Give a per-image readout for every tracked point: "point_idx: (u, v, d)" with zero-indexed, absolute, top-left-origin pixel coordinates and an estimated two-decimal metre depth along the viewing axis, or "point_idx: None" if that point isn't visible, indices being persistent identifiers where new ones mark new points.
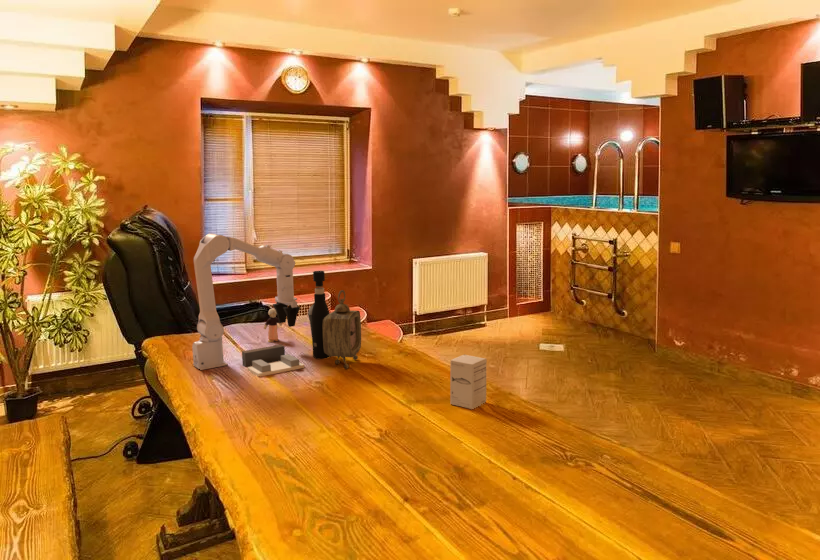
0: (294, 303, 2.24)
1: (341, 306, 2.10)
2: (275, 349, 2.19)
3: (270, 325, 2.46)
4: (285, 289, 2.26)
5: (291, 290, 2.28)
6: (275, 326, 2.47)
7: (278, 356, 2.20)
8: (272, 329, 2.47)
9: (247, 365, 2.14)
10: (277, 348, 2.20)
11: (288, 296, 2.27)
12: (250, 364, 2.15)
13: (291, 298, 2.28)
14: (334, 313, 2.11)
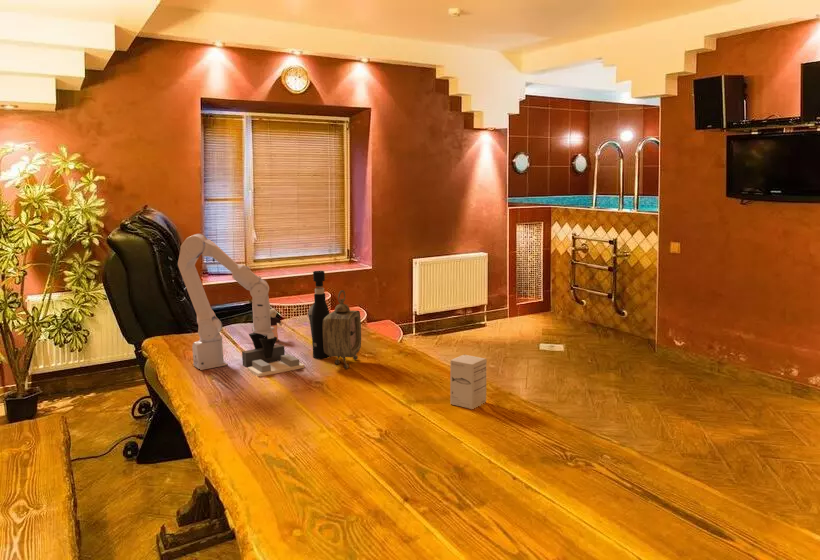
0: (270, 334, 2.12)
1: (341, 306, 2.10)
2: (275, 349, 2.20)
3: None
4: (261, 319, 2.14)
5: (268, 320, 2.15)
6: (275, 326, 2.47)
7: (278, 356, 2.21)
8: None
9: (248, 365, 2.14)
10: (277, 348, 2.20)
11: (264, 326, 2.15)
12: (250, 364, 2.15)
13: (268, 328, 2.16)
14: (334, 313, 2.11)
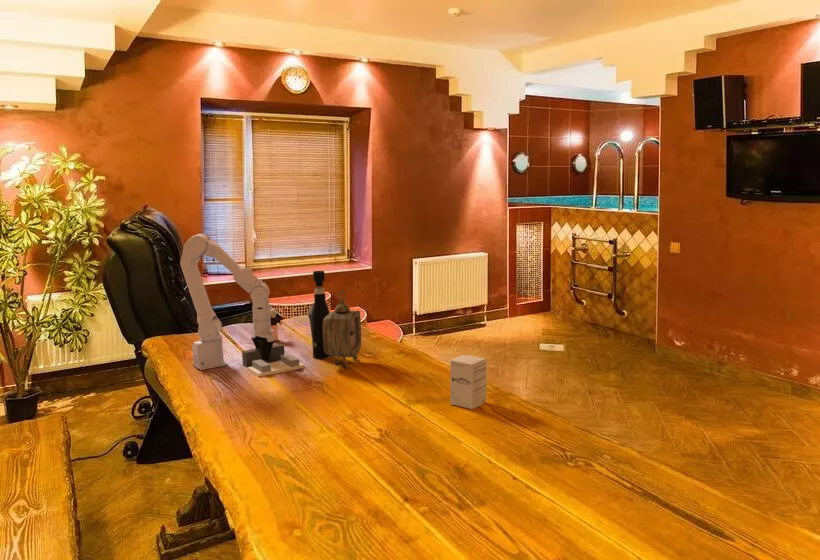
0: (270, 337, 2.12)
1: (341, 306, 2.10)
2: (275, 348, 2.20)
3: None
4: (261, 322, 2.14)
5: (268, 323, 2.16)
6: (275, 326, 2.47)
7: (278, 356, 2.21)
8: (272, 329, 2.47)
9: (248, 364, 2.14)
10: (277, 347, 2.20)
11: (264, 329, 2.15)
12: (251, 364, 2.15)
13: (268, 331, 2.16)
14: (334, 313, 2.11)
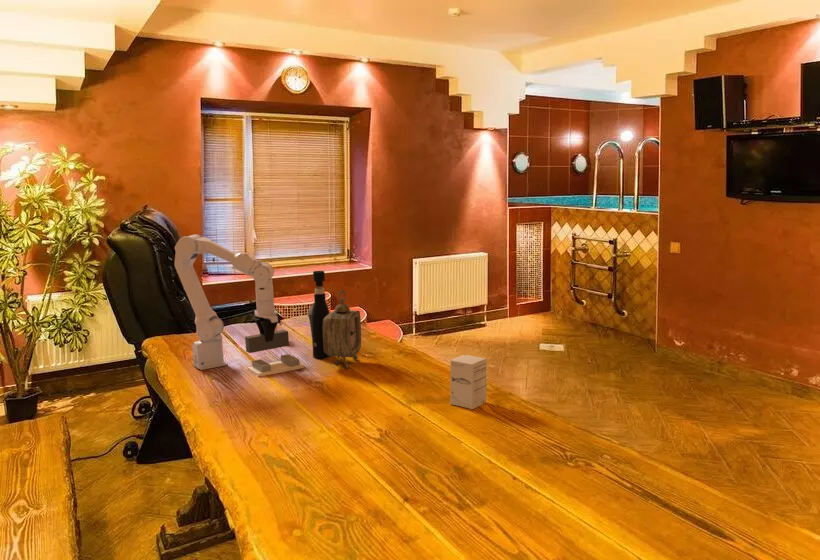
0: (274, 318, 2.08)
1: (341, 306, 2.10)
2: (279, 334, 2.16)
3: None
4: (265, 302, 2.10)
5: (271, 303, 2.12)
6: None
7: (282, 341, 2.17)
8: None
9: (251, 350, 2.10)
10: (281, 333, 2.16)
11: (267, 310, 2.11)
12: (254, 349, 2.11)
13: (271, 312, 2.12)
14: (334, 313, 2.11)
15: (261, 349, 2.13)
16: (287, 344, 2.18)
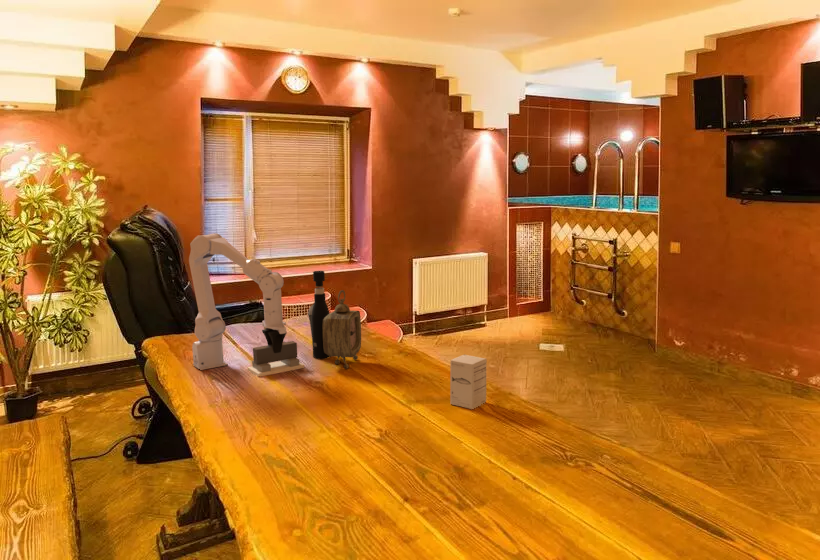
0: (282, 329, 2.03)
1: (341, 306, 2.10)
2: (287, 346, 2.11)
3: None
4: (273, 313, 2.05)
5: (279, 314, 2.07)
6: None
7: (291, 353, 2.12)
8: None
9: (258, 362, 2.06)
10: (289, 344, 2.11)
11: (276, 321, 2.06)
12: (261, 361, 2.06)
13: (279, 323, 2.07)
14: (334, 313, 2.11)
15: (269, 361, 2.08)
16: (295, 356, 2.13)
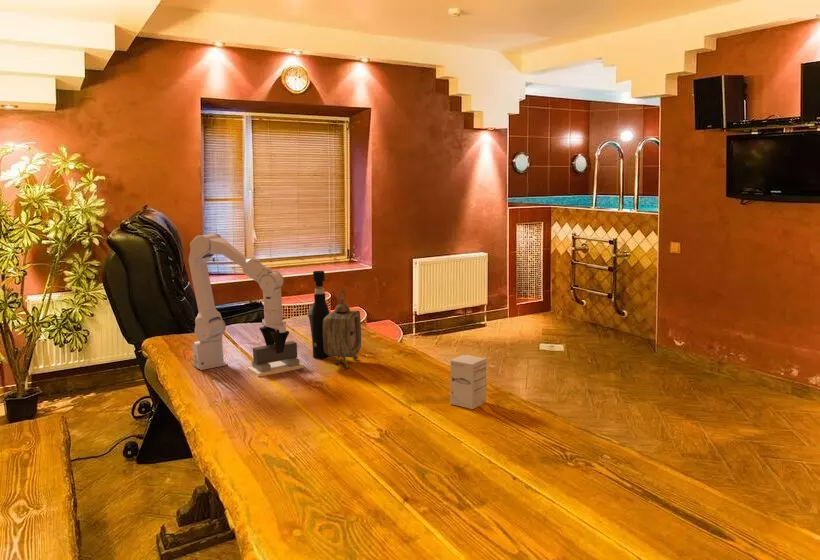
0: (282, 328, 2.03)
1: (341, 306, 2.10)
2: (287, 346, 2.11)
3: None
4: (273, 312, 2.05)
5: (279, 313, 2.07)
6: None
7: (291, 353, 2.12)
8: None
9: (258, 362, 2.06)
10: (289, 344, 2.11)
11: (275, 319, 2.06)
12: (261, 361, 2.06)
13: (279, 322, 2.07)
14: (334, 313, 2.11)
15: (269, 361, 2.08)
16: (295, 356, 2.13)
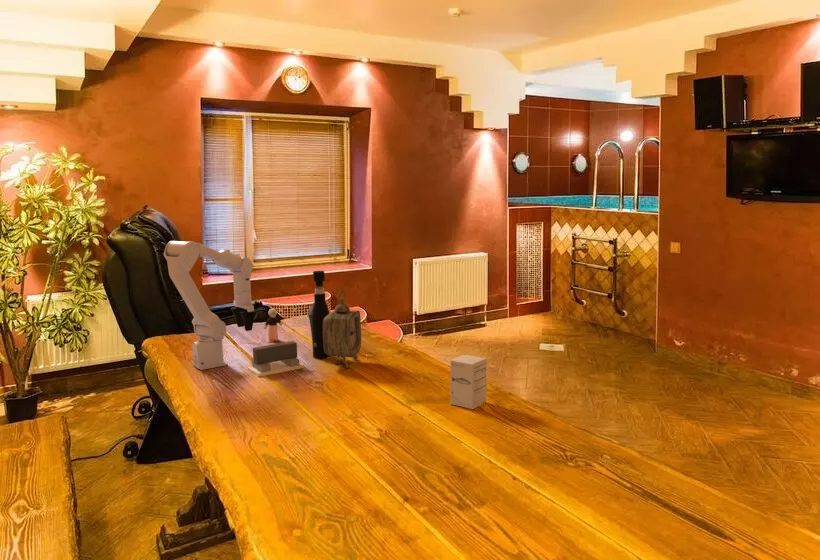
0: (250, 307, 2.21)
1: (341, 306, 2.10)
2: (287, 346, 2.11)
3: (270, 325, 2.46)
4: (242, 293, 2.24)
5: (248, 294, 2.25)
6: (275, 326, 2.47)
7: (291, 353, 2.12)
8: (272, 329, 2.47)
9: (258, 362, 2.06)
10: (289, 344, 2.11)
11: (244, 300, 2.24)
12: (261, 361, 2.06)
13: (248, 302, 2.25)
14: (334, 313, 2.11)
15: (269, 361, 2.08)
16: (295, 356, 2.13)
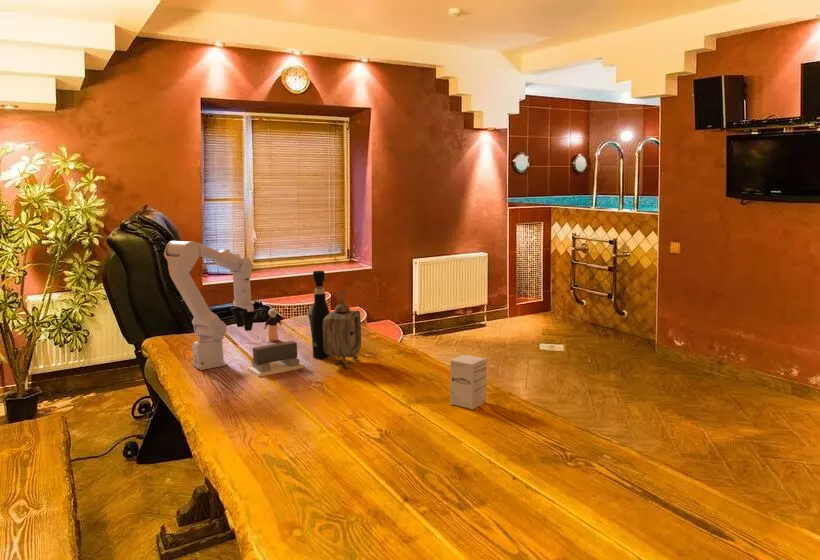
0: (250, 307, 2.21)
1: (341, 306, 2.10)
2: (287, 346, 2.11)
3: (270, 325, 2.46)
4: (241, 293, 2.24)
5: (248, 294, 2.25)
6: (275, 326, 2.47)
7: (291, 353, 2.12)
8: (272, 329, 2.47)
9: (258, 362, 2.06)
10: (289, 344, 2.11)
11: (244, 300, 2.24)
12: (261, 361, 2.06)
13: (248, 302, 2.25)
14: (334, 313, 2.11)
15: (269, 361, 2.08)
16: (295, 356, 2.13)
